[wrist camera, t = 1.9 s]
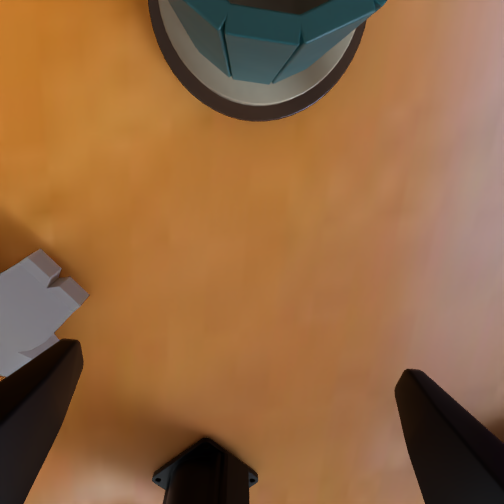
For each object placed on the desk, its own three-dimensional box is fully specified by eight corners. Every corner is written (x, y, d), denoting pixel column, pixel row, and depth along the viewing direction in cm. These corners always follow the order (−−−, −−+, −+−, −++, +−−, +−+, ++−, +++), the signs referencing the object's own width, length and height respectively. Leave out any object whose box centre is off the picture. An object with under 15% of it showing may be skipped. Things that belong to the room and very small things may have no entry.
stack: (250, 160, 19) (251, 166, 16) (111, 0, 16) (85, -25, 13) (398, 23, 17) (428, 4, 14) (269, -192, 14) (275, -267, 11)
